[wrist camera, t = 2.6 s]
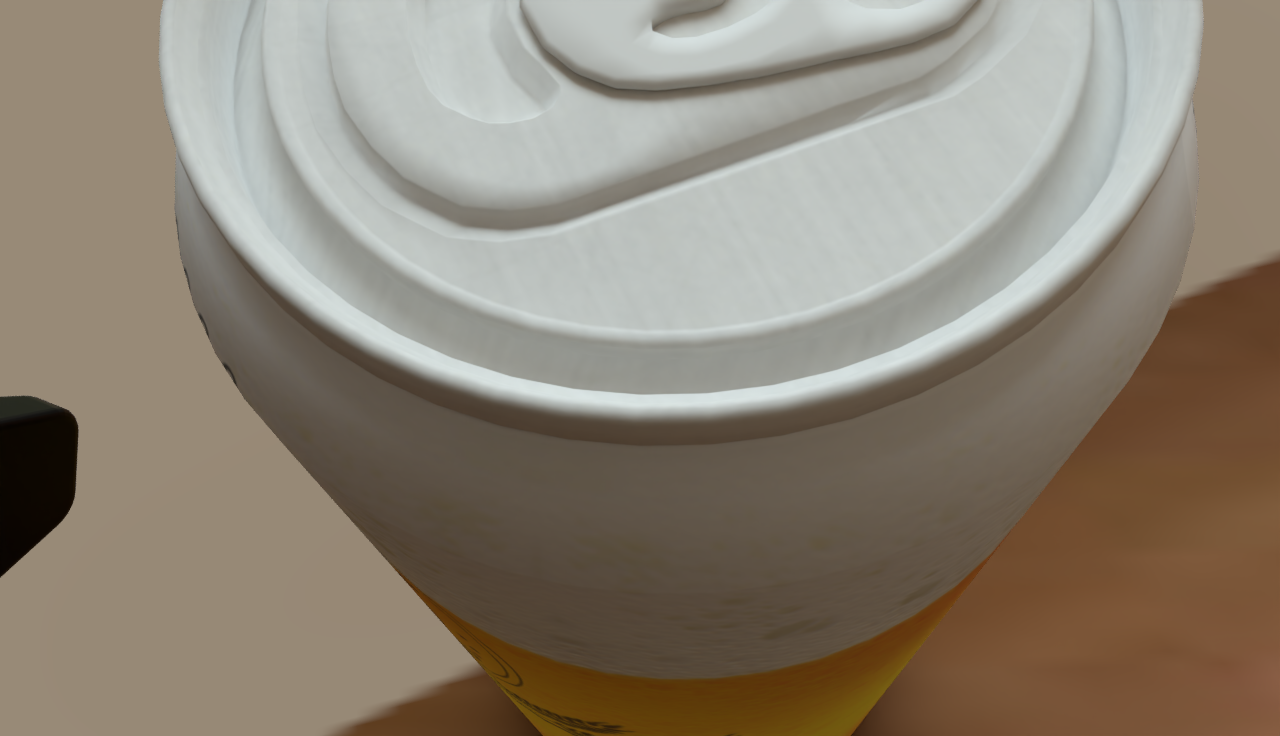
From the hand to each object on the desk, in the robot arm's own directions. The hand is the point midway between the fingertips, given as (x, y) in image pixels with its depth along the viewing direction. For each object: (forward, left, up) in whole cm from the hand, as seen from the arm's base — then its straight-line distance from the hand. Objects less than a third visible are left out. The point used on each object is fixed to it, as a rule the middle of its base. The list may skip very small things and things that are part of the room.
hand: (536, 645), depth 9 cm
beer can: (+3, -1, -11) cm, 11 cm away
